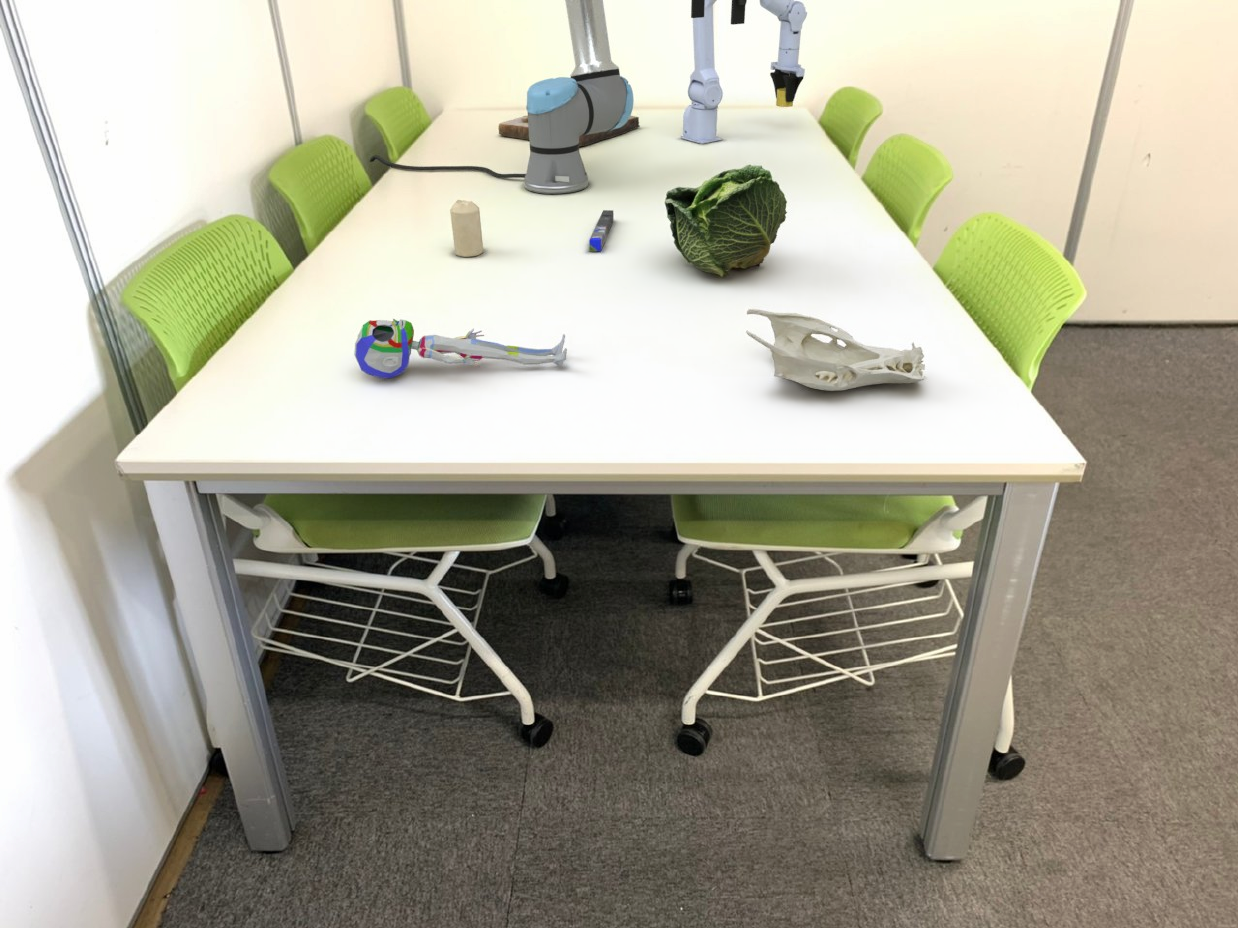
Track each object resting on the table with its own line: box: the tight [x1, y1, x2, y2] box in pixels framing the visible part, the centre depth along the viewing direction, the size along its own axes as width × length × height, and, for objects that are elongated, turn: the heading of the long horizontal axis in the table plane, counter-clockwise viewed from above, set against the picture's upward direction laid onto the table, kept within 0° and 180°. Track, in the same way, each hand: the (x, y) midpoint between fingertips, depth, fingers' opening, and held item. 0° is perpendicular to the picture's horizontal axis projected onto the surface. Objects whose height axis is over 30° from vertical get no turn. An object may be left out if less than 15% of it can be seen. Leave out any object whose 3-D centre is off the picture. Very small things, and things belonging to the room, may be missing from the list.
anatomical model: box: [745, 308, 927, 392], centre depth 125 cm, size 15×9×25 cm
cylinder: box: [775, 88, 794, 108], centre depth 257 cm, size 5×5×4 cm
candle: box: [449, 199, 484, 258], centre depth 172 cm, size 6×6×10 cm
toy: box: [353, 318, 568, 379], centre depth 130 cm, size 10×8×30 cm
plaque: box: [498, 114, 641, 148], centre depth 262 cm, size 30×7×30 cm
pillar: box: [588, 209, 615, 252], centre depth 182 cm, size 2×2×20 cm
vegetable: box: [664, 164, 788, 278], centre depth 161 cm, size 20×19×20 cm
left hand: (717, 21), depth 177 cm, fingers open, 13 cm apart
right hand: (784, 100), depth 258 cm, fingers closed on cylinder, 5 cm apart
